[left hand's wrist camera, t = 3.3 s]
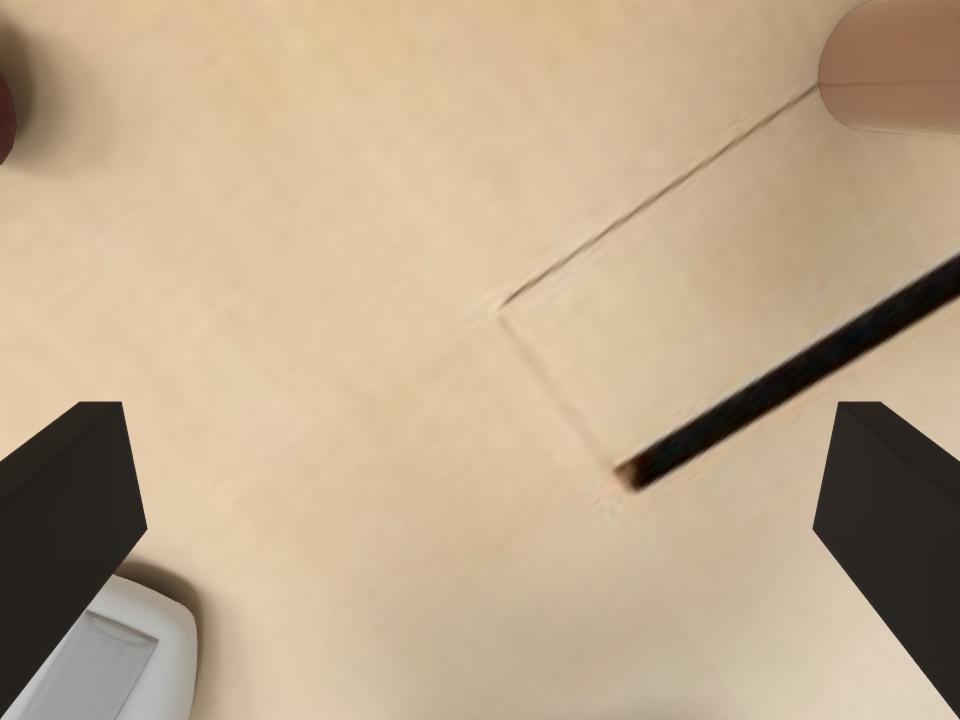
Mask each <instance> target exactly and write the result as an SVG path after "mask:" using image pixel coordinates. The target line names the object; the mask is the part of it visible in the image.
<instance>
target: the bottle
mask: <svg viewBox="0 0 960 720" xmlns="http://www.w3.org/2000/svg"><path fill="white" fill-rule="evenodd" d="M819 87H820V92H821V95H822V98H823V101H824V103H825V105H826V107H827V108H828V110H829V111H830V112H831V114H832V115H833V116H834V117H835V118H836V119H838V120H839V121H840V122H842V123H843V124H845V125H847V126H849V127H852V128H855V129H860V130H870V131H882V132H895V133H908V134H920V135H933V136H946V137H958V138H960V0H870V1H868V2H866V3H864V4H862V5H860V6H859V7H857V8H856V9H854V10H853V11H852V12H851V13H849V14H848V15H847V16H846V17H845V18H844V19H843V20H842V21H841V22H840V23H839V24H838V26H837V27H836V28H835V30H834V31H833V33H832V34H831V36H830V38H829V39H828V41H827V43H826V46H825V48H824V50H823V53H822V56H821V61H820V65H819Z"/></svg>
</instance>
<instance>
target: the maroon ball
mask: <svg viewBox="0 0 960 720" xmlns="http://www.w3.org/2000/svg"><path fill="white" fill-rule="evenodd" d="M16 125H17V124H16V119H15V113H14V108H13V102H12V96H11V92H10V90H9V88H8V86H7V84H6V82H5V80H4V78H3V76H2V74H1V72H0V165H1V164H2V163H3V162H4V160H5V159H6V157H7V156H8V154H9V153H10V151H11V150H12V148H13V144H14V137H15V131H16Z"/></svg>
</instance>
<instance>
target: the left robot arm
mask: <svg viewBox="0 0 960 720" xmlns="http://www.w3.org/2000/svg"><path fill="white" fill-rule="evenodd" d="M146 530H147V524H146V519H145V514H144V509H143V504H142V500H141V495H140V490H139V485H138V480H137V475H136V470H135V465H134V460H133V455H132V451H131V446H130V441H129V436H128V431H127V426H126V421H125V416H124V411H123V407H122V402H78V403H77V404H76V405H75V406H73V407H72V408H71V409H69V410H68V411H67V412H65V413H64V414H63V415H61V416H60V417H59V418H57V419H56V420H55V421H53V422H52V423H51V424H49V425H48V426H47V427H45V428H44V429H43V430H41V431H40V432H39V433H37V434H36V435H35V436H33V437H32V438H31V439H29V440H28V441H27V442H25V443H24V444H23V445H21V446H20V447H19V448H18V449H16V450H15V451H14V452H12V453H11V454H10V455H8V456H7V457H6V458H4V459H3V460H2V461H0V719H1V718H2V717H3V715H4V714H5V713H6V711H7V710H8V709H9V707H10V706H11V705H12V704H13V702H14V701H15V700H16V698H17V697H18V696H19V695H20V693H21V692H22V691H23V689H24V688H25V687H26V686H27V684H28V683H29V682H30V680H31V679H32V678H33V676H34V675H35V674H36V673H37V671H38V670H39V669H40V667H41V666H42V665H43V664H44V662H45V661H46V660H47V658H48V657H49V656H50V655H51V653H52V652H53V651H54V649H55V648H56V647H57V645H58V644H59V643H60V642H61V640H62V639H63V638H64V636H65V635H66V634H67V633H68V631H69V630H70V629H71V627H72V626H73V625H74V623H75V622H76V621H77V620H78V618H79V617H80V616H81V614H82V613H83V612H84V611H85V609H86V608H87V607H88V605H89V604H90V603H91V602H92V600H93V599H94V598H95V596H96V595H97V594H98V592H99V591H100V590H101V589H102V587H103V586H104V585H105V583H106V582H107V581H108V580H109V578H110V577H111V576H112V574H113V573H114V572H115V571H116V569H117V568H118V567H119V565H120V564H121V563H122V561H123V560H124V559H125V558H126V556H127V555H128V554H129V552H130V551H131V550H132V549H133V547H134V546H135V545H136V543H137V542H138V541H139V540H140V538H141V537H142V536H143V534H144V533H145V532H146ZM813 530H814V532H815V533H816V534H817V536H818V537H819V538H820V540H821V541H822V542H823V543H824V545H825V546H826V547H827V549H828V550H829V551H830V552H831V554H832V555H833V556H834V558H835V559H836V560H837V561H838V563H839V564H840V565H841V567H842V568H843V569H844V571H845V572H846V573H847V574H848V576H849V577H850V578H851V580H852V581H853V582H854V583H855V585H856V586H857V587H858V589H859V590H860V591H861V592H862V594H863V595H864V596H865V598H866V599H867V600H868V602H869V603H870V604H871V605H872V607H873V608H874V609H875V611H876V612H877V613H878V614H879V616H880V617H881V618H882V620H883V621H884V622H885V623H886V625H887V626H888V627H889V629H890V630H891V631H892V633H893V634H894V635H895V636H896V638H897V639H898V640H899V642H900V643H901V644H902V645H903V647H904V648H905V649H906V651H907V652H908V653H909V655H910V656H911V657H912V658H913V660H914V661H915V662H916V664H917V665H918V666H919V667H920V669H921V670H922V671H923V673H924V674H925V675H926V676H927V678H928V679H929V680H930V682H931V683H932V684H933V686H934V687H935V688H936V689H937V691H938V692H939V693H940V695H941V696H942V697H943V698H944V700H945V701H946V702H947V704H948V705H949V706H950V707H951V709H952V710H953V711H954V713H955V714H956V715H957V717H958V718H959V719H960V461H958V460H957V459H956V458H954V457H953V456H952V455H950V454H949V453H948V452H946V451H945V450H944V449H942V448H941V447H940V446H939V445H937V444H936V443H935V442H933V441H932V440H931V439H929V438H928V437H927V436H925V435H924V434H923V433H921V432H920V431H919V430H917V429H916V428H915V427H913V426H912V425H911V424H909V423H908V422H907V421H905V420H904V419H903V418H901V417H900V416H899V415H897V414H896V413H895V412H893V411H892V410H891V409H889V408H888V407H887V406H885V405H884V404H883V403H882V402H838V407H837V411H836V416H835V421H834V426H833V431H832V436H831V441H830V446H829V451H828V455H827V460H826V465H825V470H824V475H823V480H822V485H821V490H820V495H819V500H818V504H817V509H816V514H815V519H814V524H813Z"/></svg>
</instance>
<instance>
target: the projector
mask: <svg viewBox="0 0 960 720" xmlns="http://www.w3.org/2000/svg"><path fill="white" fill-rule="evenodd" d="M196 669H197V629H196V623H195V619H194V617H193V615H192V614H191V612H190V611H189V610H188V609H187V608H186V607H185V606H183V605H182V604H180V603H178V602H175V601H173V600H172V599H170V598H168V597H166V596H164V595H162V594H160V593H158V592H156V591H154V590H152V589H149V588H147V587H145V586H143V585H140V584H138V583H135V582H133V581H130V580H128V579H125V578H121V577H119V576H116V575H114V574H112V576H111V577H110V578H109V580H108V581H107V582H106V583H105V585H104V586H103V587H102V589H101V590H100V591H99V592H98V594H97V595H96V596H95V598H94V599H93V600H92V602H91V603H90V604H89V605H88V607H87V608H86V609H85V611H84V612H83V613H82V614H81V616H80V617H79V618H78V620H77V621H76V622H75V623H74V625H73V626H72V627H71V629H70V630H69V631H68V633H67V634H66V635H65V636H64V638H63V639H62V640H61V642H60V643H59V644H58V645H57V647H56V648H55V649H54V651H53V652H52V653H51V655H50V656H49V657H48V658H47V660H46V661H45V662H44V664H43V665H42V666H41V667H40V669H39V670H38V671H37V673H36V674H35V675H34V676H33V678H32V679H31V680H30V682H29V683H28V684H27V686H26V687H25V688H24V689H23V691H22V692H21V693H20V695H19V696H18V697H17V698H16V700H15V701H14V702H13V704H12V705H11V706H10V707H9V709H8V710H7V711H6V713H5V714H4V715H3V717H2V718H1V719H0V720H189V717H190V713H191V708H192V702H193V696H194V688H195V679H196Z"/></svg>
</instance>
